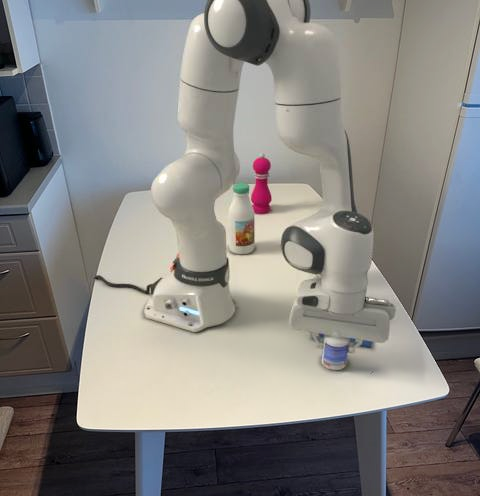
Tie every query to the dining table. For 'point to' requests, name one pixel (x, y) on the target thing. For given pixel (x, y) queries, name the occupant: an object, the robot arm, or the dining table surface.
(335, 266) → the robot arm
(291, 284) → the dining table surface
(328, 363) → the pill bottle
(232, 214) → the milk bottle
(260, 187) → the pepper mill
